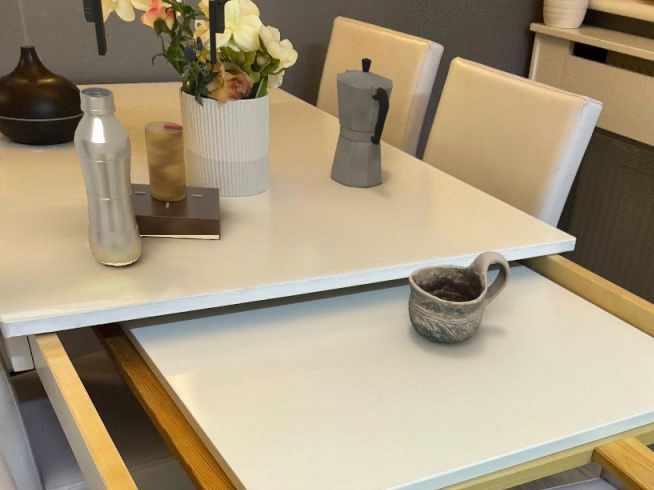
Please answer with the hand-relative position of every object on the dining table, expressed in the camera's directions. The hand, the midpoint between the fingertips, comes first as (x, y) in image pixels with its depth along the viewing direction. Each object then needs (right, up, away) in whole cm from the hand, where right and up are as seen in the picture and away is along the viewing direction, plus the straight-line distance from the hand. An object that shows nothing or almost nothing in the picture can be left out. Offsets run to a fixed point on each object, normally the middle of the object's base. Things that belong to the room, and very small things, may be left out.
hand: (159, 57), depth 99 cm
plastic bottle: (-6, -25, +2) cm, 26 cm away
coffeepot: (+24, -2, +32) cm, 40 cm away
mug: (+37, -35, -2) cm, 51 cm away
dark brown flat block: (-2, -16, +12) cm, 21 cm away
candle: (-2, -13, +12) cm, 17 cm away
